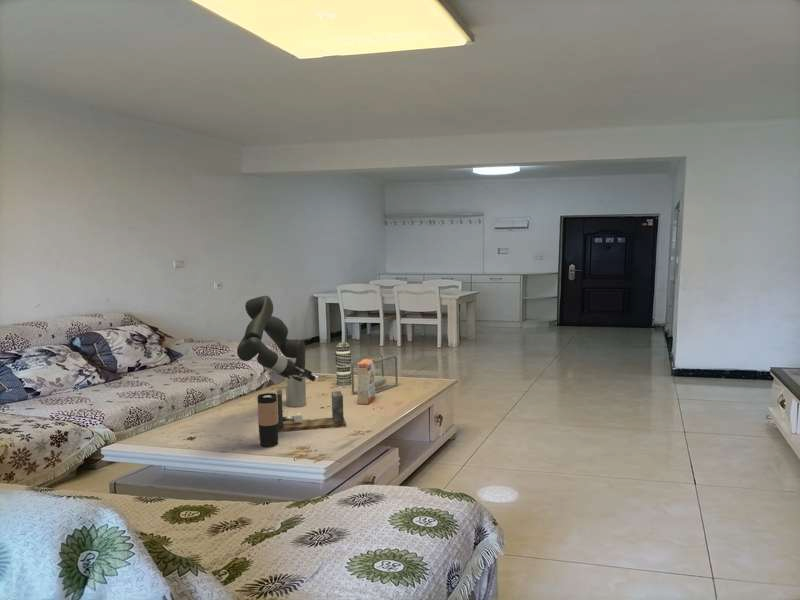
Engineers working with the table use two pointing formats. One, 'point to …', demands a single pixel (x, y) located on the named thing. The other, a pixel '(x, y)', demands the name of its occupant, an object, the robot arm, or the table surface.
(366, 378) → the cracker box
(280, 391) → the brushed metal plate
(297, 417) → the cream lever switch
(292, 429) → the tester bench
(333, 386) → the table surface
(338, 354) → the decorative candle
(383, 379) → the newton's cradle
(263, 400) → the travel mug
